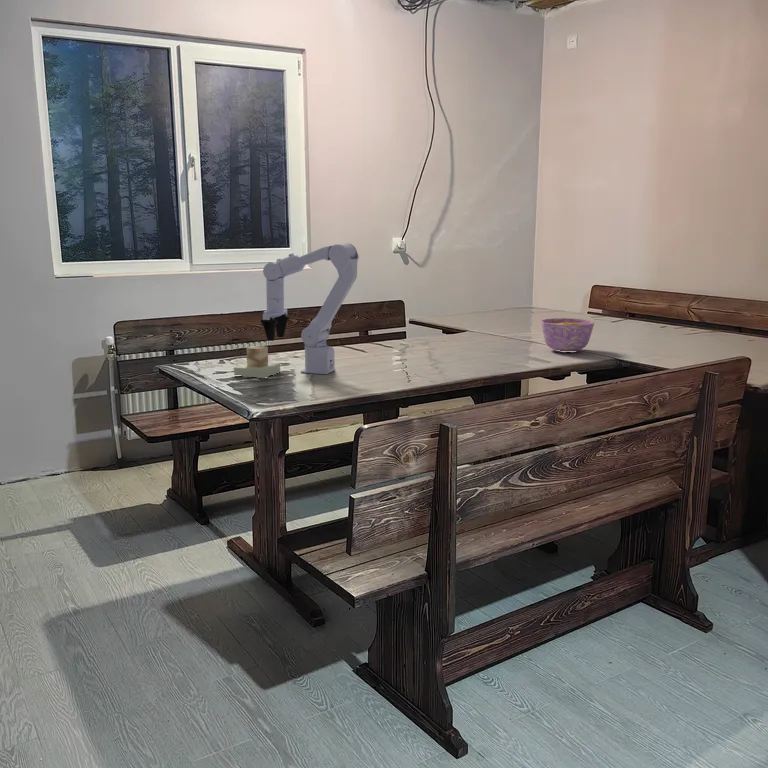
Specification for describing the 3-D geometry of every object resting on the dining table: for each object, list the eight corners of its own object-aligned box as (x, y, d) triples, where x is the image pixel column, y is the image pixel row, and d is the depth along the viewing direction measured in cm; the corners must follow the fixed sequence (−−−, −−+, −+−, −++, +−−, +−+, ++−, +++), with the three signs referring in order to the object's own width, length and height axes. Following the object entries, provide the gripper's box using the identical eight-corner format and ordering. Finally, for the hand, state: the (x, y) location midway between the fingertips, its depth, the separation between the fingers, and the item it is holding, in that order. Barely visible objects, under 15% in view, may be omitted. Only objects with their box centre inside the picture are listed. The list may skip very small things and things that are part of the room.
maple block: (268, 364, 254) (267, 346, 252) (260, 367, 249) (260, 349, 248) (254, 363, 255) (254, 345, 254) (247, 366, 251) (246, 348, 249)
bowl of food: (588, 347, 305) (589, 318, 303) (596, 356, 286) (598, 325, 284) (537, 346, 307) (538, 317, 305) (542, 355, 288) (543, 324, 285)
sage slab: (280, 372, 256) (280, 363, 255) (264, 378, 246) (264, 369, 245) (251, 370, 260) (250, 361, 259) (234, 376, 250) (234, 367, 249)
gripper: (274, 295, 265) (274, 334, 268) (254, 299, 252) (254, 340, 255) (292, 296, 263) (293, 336, 266) (273, 301, 249) (274, 342, 252)
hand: (275, 338), depth 260 cm, fingers open, 7 cm apart
